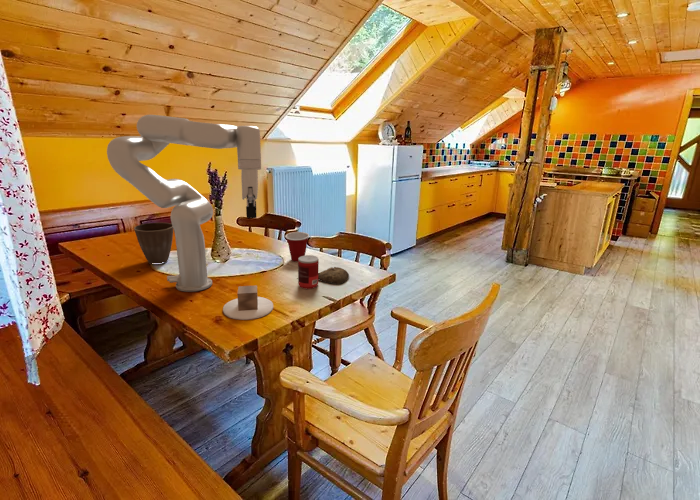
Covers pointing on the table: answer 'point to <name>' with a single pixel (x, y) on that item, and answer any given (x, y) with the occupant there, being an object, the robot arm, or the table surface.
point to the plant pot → (155, 241)
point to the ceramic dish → (263, 309)
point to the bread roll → (333, 275)
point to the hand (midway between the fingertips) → (251, 215)
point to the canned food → (308, 271)
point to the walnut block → (247, 298)
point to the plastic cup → (297, 244)
